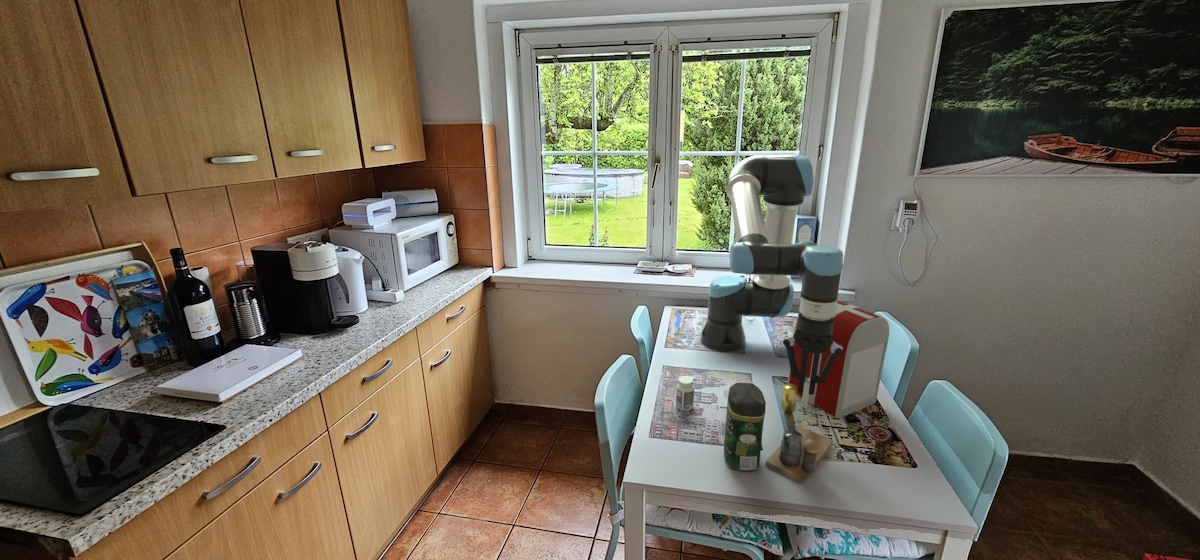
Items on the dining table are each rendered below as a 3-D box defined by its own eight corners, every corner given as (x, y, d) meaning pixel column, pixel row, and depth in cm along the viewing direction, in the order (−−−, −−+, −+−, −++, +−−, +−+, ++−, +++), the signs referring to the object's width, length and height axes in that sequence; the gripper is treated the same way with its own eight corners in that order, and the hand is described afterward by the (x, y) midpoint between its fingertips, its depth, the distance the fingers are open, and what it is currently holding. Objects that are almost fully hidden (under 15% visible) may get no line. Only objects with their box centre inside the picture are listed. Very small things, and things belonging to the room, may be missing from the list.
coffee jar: (721, 444, 119) (726, 377, 113) (754, 446, 118) (761, 379, 112) (725, 472, 110) (732, 401, 104) (761, 474, 109) (770, 403, 103)
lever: (784, 453, 107) (788, 424, 104) (778, 409, 122) (781, 382, 120) (803, 456, 106) (808, 426, 103) (795, 411, 121) (798, 384, 119)
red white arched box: (837, 419, 128) (853, 325, 119) (784, 387, 143) (796, 302, 134) (877, 402, 135) (895, 312, 126) (823, 373, 150) (836, 291, 141)
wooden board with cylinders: (765, 465, 112) (769, 433, 109) (798, 429, 124) (802, 400, 121) (806, 486, 106) (811, 452, 103) (837, 446, 118) (842, 415, 115)
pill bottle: (694, 402, 136) (695, 376, 133) (691, 412, 132) (693, 385, 129) (677, 399, 138) (678, 373, 135) (674, 409, 133) (675, 382, 131)
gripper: (784, 316, 110) (774, 406, 117) (847, 325, 104) (832, 419, 112) (788, 304, 116) (778, 390, 124) (848, 313, 110) (834, 402, 118)
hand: (804, 404), depth 118 cm, fingers closed
